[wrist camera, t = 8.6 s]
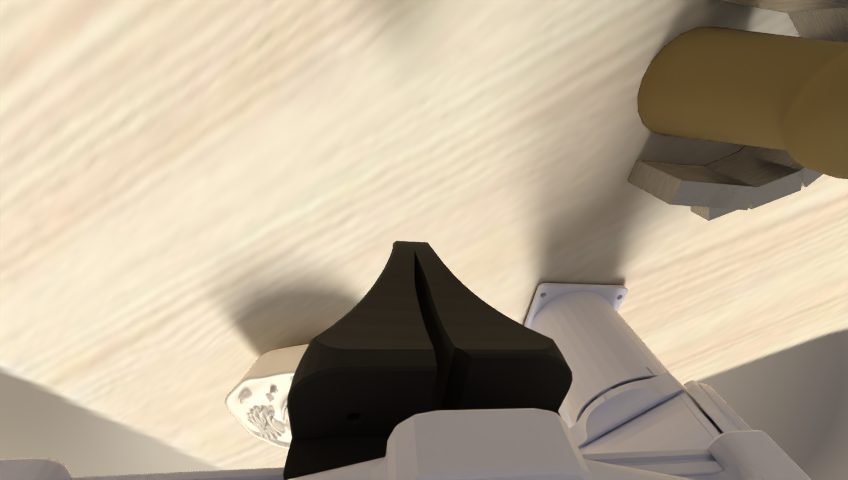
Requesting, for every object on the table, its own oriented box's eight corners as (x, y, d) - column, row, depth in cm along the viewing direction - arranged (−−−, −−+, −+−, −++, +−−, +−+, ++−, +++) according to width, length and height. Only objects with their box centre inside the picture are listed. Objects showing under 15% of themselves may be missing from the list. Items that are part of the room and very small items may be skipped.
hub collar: (754, 215, 26) (811, 241, 22) (616, 206, 24) (654, 232, 21) (933, -45, 18) (1063, -68, 14) (746, -87, 16) (843, -123, 13)
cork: (714, -1, 18) (1079, -56, 8) (751, 81, 20) (1065, 109, 11) (619, 88, 20) (830, 125, 10) (663, 153, 22) (865, 231, 13)
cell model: (271, 301, 26) (237, 375, 20) (404, 346, 30) (409, 419, 24) (234, 378, 29) (196, 459, 24) (356, 408, 34) (349, 484, 28)
